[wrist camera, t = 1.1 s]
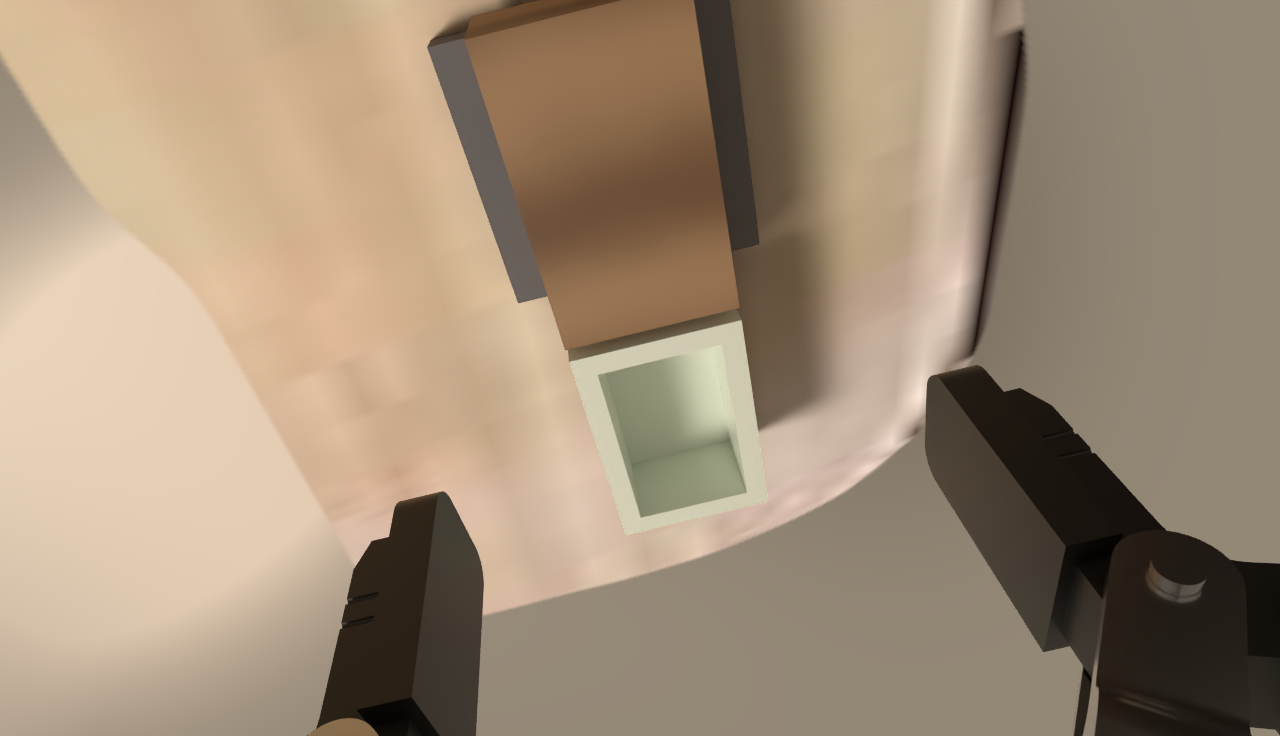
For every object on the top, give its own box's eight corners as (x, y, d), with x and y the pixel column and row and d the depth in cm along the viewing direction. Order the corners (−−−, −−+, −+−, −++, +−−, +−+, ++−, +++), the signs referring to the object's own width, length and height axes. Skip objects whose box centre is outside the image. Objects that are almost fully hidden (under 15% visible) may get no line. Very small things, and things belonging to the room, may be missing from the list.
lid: (471, 16, 22) (464, 40, 19) (672, -35, 22) (691, -18, 19) (561, 304, 28) (565, 350, 25) (720, 266, 27) (739, 307, 25)
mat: (430, 40, 23) (427, 47, 22) (718, -33, 23) (725, -28, 22) (518, 289, 28) (518, 303, 27) (752, 232, 28) (759, 244, 27)
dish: (564, 302, 29) (568, 362, 25) (717, 265, 29) (741, 320, 25) (616, 468, 34) (625, 535, 31) (745, 437, 34) (768, 501, 31)
